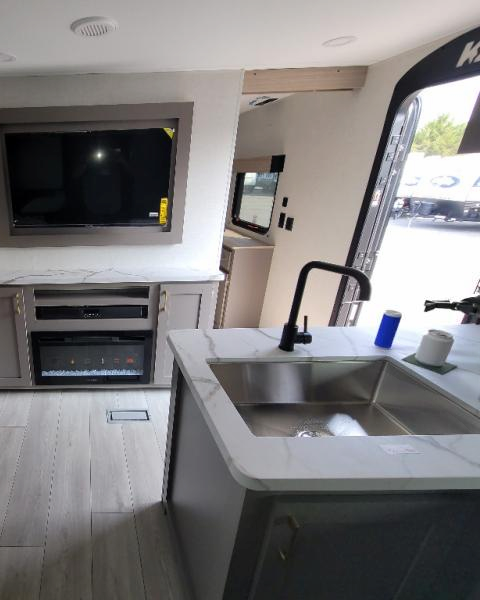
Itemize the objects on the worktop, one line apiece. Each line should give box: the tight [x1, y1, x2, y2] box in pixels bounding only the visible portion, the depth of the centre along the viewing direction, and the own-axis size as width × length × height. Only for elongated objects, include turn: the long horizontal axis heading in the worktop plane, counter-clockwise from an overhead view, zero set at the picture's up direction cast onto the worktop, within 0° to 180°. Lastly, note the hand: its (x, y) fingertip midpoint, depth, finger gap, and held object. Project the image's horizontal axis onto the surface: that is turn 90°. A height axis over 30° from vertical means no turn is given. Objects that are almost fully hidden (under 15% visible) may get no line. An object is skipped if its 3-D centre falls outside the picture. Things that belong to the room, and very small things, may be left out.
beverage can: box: [373, 309, 403, 350], centre depth 128 cm, size 5×5×15 cm
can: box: [415, 329, 455, 367], centre depth 116 cm, size 8×8×12 cm
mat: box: [401, 352, 458, 375], centre depth 118 cm, size 11×11×1 cm
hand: (450, 314), depth 119 cm, fingers open, 13 cm apart
